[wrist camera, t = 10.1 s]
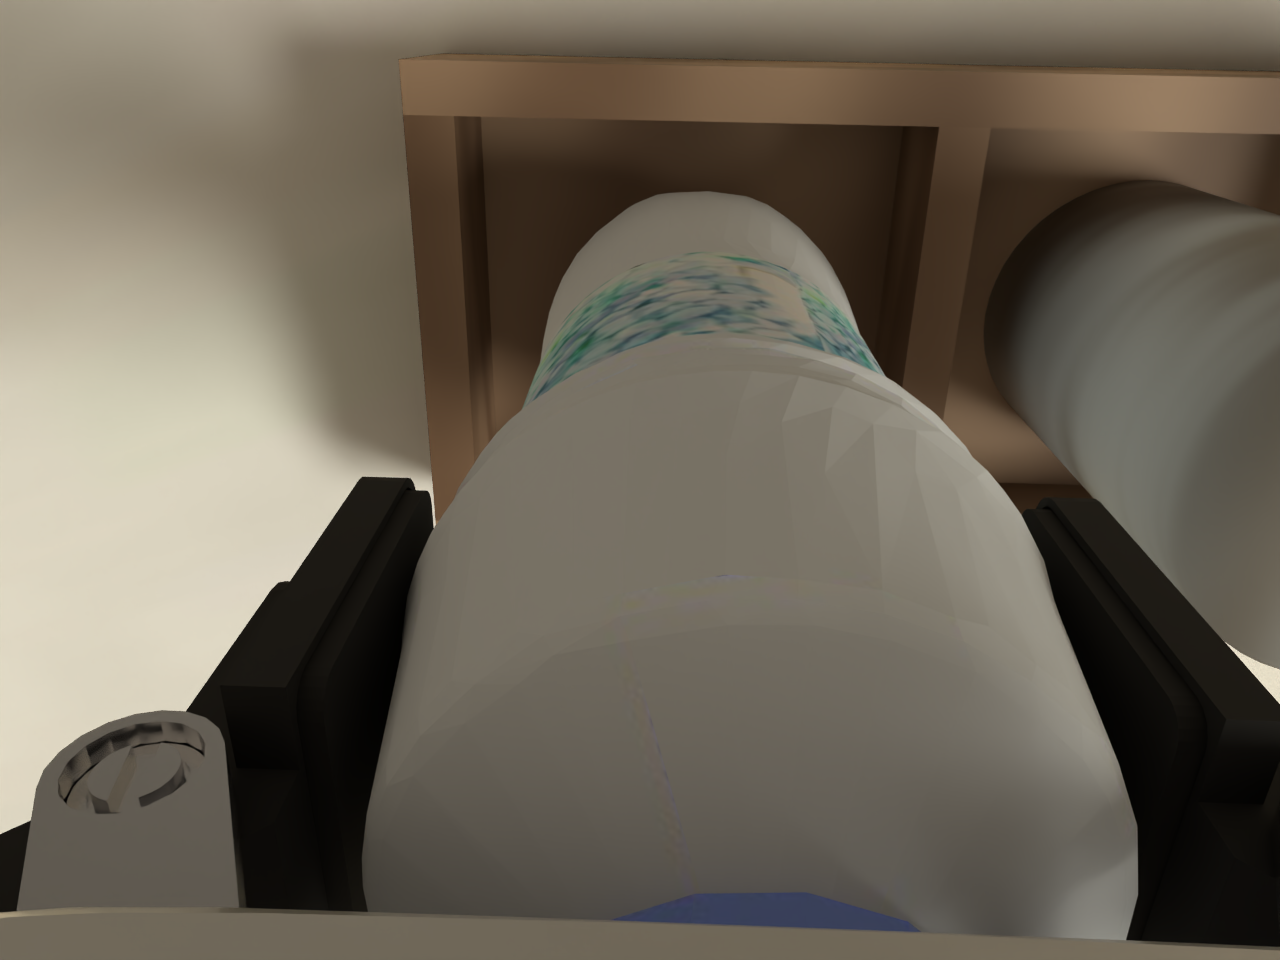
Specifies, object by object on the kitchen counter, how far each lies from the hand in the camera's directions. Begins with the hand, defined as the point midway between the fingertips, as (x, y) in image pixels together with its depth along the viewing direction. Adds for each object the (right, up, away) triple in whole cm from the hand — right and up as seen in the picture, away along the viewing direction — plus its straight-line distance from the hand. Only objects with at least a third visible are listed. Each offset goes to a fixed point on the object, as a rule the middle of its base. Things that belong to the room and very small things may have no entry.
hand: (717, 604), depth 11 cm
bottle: (0, +5, +11) cm, 12 cm away
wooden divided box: (+5, +6, +13) cm, 15 cm away
